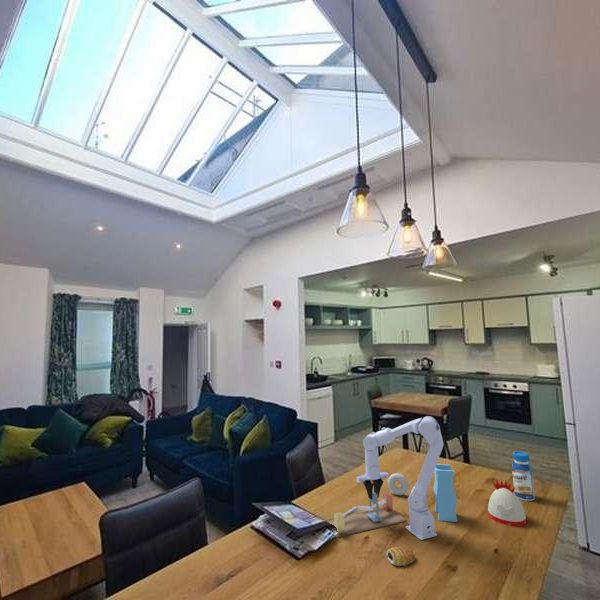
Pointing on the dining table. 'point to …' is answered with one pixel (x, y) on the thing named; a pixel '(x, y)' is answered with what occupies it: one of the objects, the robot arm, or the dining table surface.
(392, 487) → the donut
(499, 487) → the kitchen timer
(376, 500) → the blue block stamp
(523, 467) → the beverage bottle
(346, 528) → the tan flat sheet
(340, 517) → the jointed linkage mechanism
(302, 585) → the dining table surface
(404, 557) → the pastry
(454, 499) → the vase
